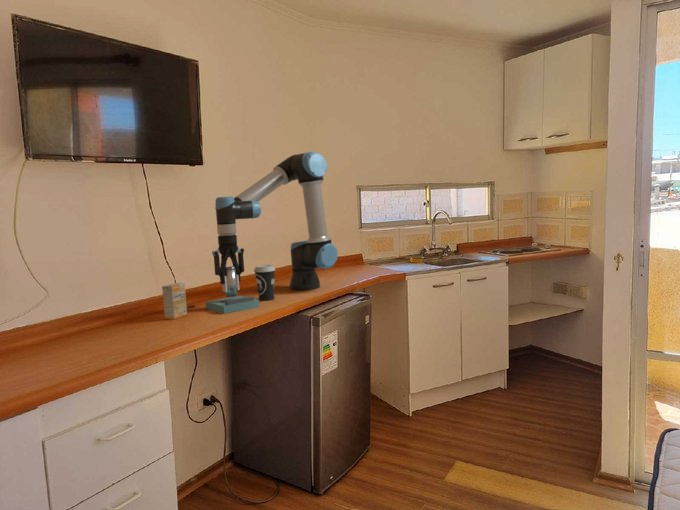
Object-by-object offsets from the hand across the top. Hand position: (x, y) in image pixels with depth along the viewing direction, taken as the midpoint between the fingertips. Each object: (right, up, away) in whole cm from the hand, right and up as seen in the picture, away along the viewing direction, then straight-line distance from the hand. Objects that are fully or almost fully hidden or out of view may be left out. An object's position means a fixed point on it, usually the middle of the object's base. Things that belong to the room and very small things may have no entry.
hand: (231, 290), depth 216 cm
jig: (0, -7, +1) cm, 7 cm away
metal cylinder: (0, -2, 0) cm, 2 cm away
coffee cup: (+13, -5, +16) cm, 21 cm away
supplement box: (-19, -10, -11) cm, 24 cm away
